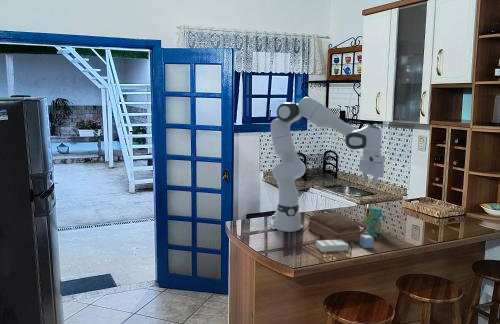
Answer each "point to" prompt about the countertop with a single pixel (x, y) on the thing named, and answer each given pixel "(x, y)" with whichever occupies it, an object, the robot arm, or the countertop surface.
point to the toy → (374, 222)
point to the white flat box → (331, 245)
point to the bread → (334, 227)
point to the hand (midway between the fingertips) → (369, 182)
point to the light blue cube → (366, 241)
